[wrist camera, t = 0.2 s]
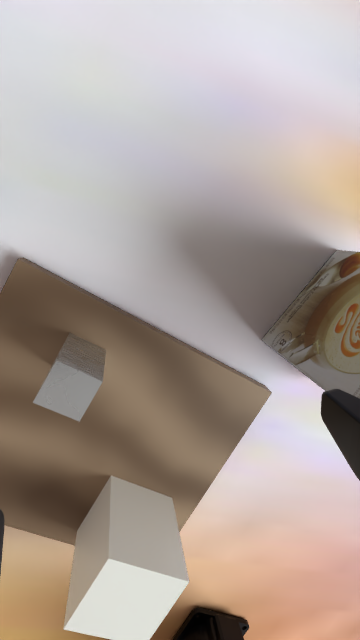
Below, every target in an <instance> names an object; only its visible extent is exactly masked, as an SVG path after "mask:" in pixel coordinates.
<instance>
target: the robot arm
mask: <svg viewBox="0 0 360 640" xmlns="http://www.w3.org/2000/svg"><path fill="white" fill-rule="evenodd" d="M321 416H322V419H323V422H324V423H325V425H326V427H327V428H328V430H329V432H330V433H331V435H332V437H333V439H334V440H335V442H336V444H337V445H338V447H339V449H340V450H341V452H342V454H343V455H344V457H345V459H346V461H347V462H348V464H349V466H350V467H351V469H352V470H353V472H354V473H355V475H356V476H357V478H358V479H359V480H360V398H358V397H356V396H354V395H351V394H349V393H347V392H345V391H343V390H340V389H332V390H328V391H325V392H323V394H322V401H321ZM4 523H5V519H4V514H3V512H2V510H1V509H0V574H1V561H2V548H3V536H4ZM248 629H249V624H248V621H247V620H244V619H241V618H237V617H233V616H229V615H226V614H222V613H218V612H214V611H210V610H207V609H203V608H195V609H194V610H193V611H192V612H191V614H190V615H189V617H188V618H187V620H186V621H185V622H184V624H183V625H182V627H181V628H180V630H179V631H178V632H177V634H176V635H175V637H174V638H173V640H244V638H243V636H244V634H245V633H246V632H247V630H248Z"/></svg>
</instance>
